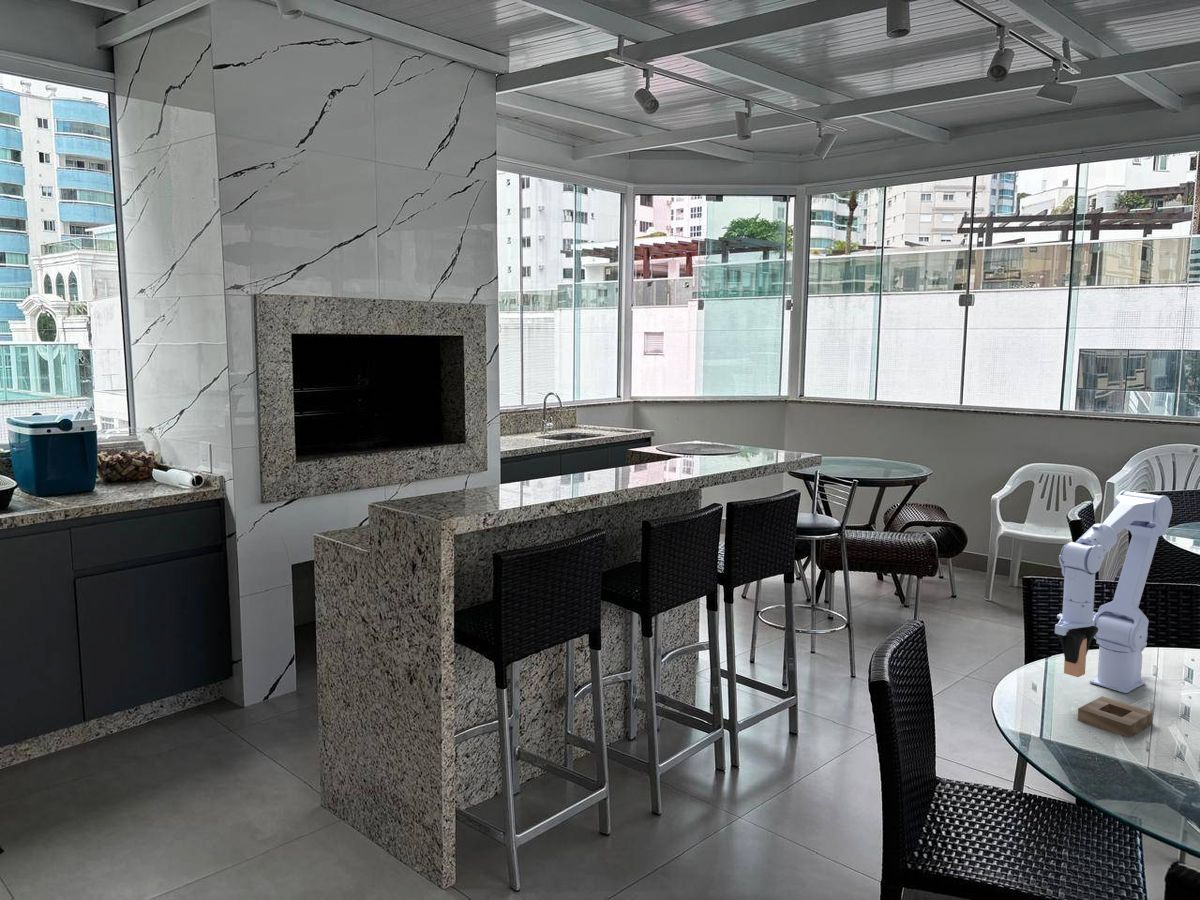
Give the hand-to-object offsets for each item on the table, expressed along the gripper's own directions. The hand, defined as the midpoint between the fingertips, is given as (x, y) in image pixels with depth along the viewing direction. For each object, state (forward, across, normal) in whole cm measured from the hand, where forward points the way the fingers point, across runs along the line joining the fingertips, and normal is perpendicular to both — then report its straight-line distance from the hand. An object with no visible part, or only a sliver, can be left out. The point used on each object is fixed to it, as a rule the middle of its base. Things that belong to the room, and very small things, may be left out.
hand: (1075, 660), depth 188 cm
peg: (+3, 0, 0) cm, 3 cm away
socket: (+10, +3, +10) cm, 14 cm away
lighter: (+10, -27, -1) cm, 29 cm away
